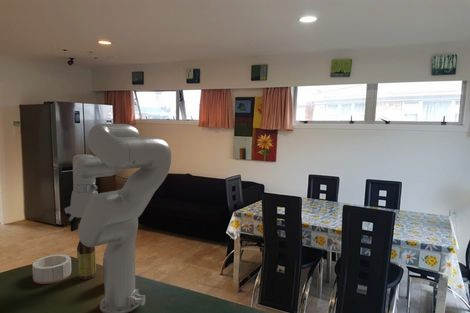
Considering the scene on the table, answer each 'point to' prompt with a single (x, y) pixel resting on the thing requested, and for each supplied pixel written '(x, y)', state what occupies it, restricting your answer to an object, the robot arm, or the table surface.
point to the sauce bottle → (86, 261)
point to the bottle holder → (51, 269)
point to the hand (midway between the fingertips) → (85, 231)
